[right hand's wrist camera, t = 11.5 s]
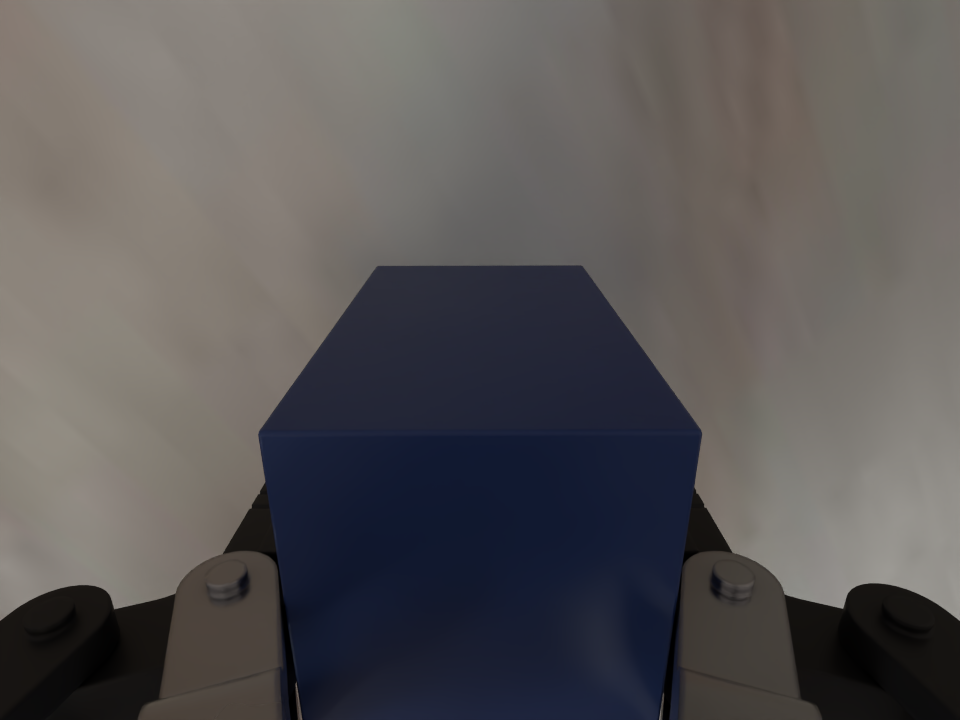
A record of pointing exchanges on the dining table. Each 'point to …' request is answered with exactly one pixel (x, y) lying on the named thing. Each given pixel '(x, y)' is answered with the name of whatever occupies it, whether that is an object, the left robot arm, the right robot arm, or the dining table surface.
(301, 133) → the dining table surface
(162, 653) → the right robot arm
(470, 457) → the bar
